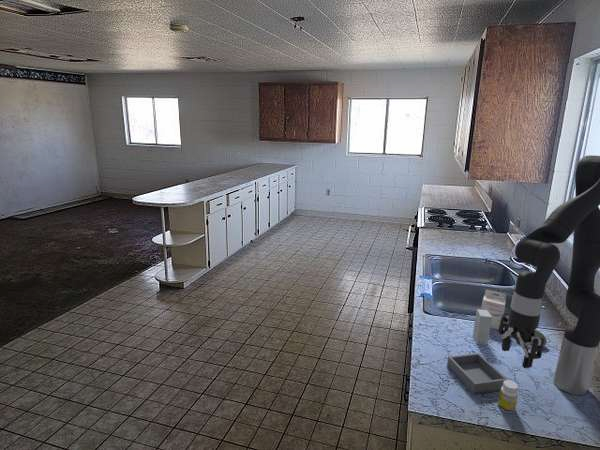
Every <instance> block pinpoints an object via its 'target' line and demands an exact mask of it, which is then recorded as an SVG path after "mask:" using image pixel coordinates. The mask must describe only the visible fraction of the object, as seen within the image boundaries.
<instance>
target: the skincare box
mask: <svg viewBox="0 0 600 450" xmlns="http://www.w3.org/2000/svg"><path fill="white" fill-rule="evenodd" d="M491 321H492V316H491V315H490V313H489V312H488V310H481V308H480V309H479V308H477V309H476V313H475V320H474V326H473V330H472V331H473V332H472V337H473V339H474V342H475V344H476V345H489V344H488V343H489V338H490V331H491V328H490V327H491Z"/></svg>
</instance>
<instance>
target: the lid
mask: <svg viewBox="0 0 600 450" xmlns="http://www.w3.org/2000/svg"><path fill="white" fill-rule="evenodd" d="M535 336H536V337H538V338H543V340H544V343H543V347H545V346H546V345H547V338H546V336H545V335H544V334H543V333H542V332H540V331H539V330H537V329H535ZM515 340H516V339H515ZM516 342H517V344H519V345H520V343H519V342H518V341H517V340H516ZM525 345H529V342H528V343H525Z"/></svg>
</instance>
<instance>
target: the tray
mask: <svg viewBox="0 0 600 450" xmlns="http://www.w3.org/2000/svg"><path fill="white" fill-rule="evenodd" d="M446 367H447V368H448V369H449V371H450V372H451V373H452V374H454V376H455V377H456V378H457V379H458V380H459V381H460V383H462V385H463V386H464V387H465V388H466V389H467V390H468V391H469V392H470V393H471V394H472V395H473V396H476V395H482V394H488V393H489V394H490V393H497V392H500V391H501V387H502V386H503V382H504V381H505V380H509V379H508V378H507V377H506V376H505V375H503V374H502V373H501V372H500V371H499V369H497V368H496V367H494V365H493V364H492V363H490V362H489V361H488V360H487V359H486V358H485V357H484V356H483V355H481V354H480V353H479V352H476V353H469V354H466V353H465V354H460V355H458V354H457V355H451V356H447V363H446Z"/></svg>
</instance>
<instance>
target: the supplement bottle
mask: <svg viewBox="0 0 600 450" xmlns="http://www.w3.org/2000/svg"><path fill="white" fill-rule="evenodd" d="M518 398H519V385H518V384H517V382H515V381H514V380H509V379H508V380H505V381H504V382H503V386H502V387H501V391H499V396H498V403H497V406H498V409H500V410H501V411H502V412H504V413H509V414H513V413H515V412H516V407H517V403H518Z"/></svg>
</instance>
